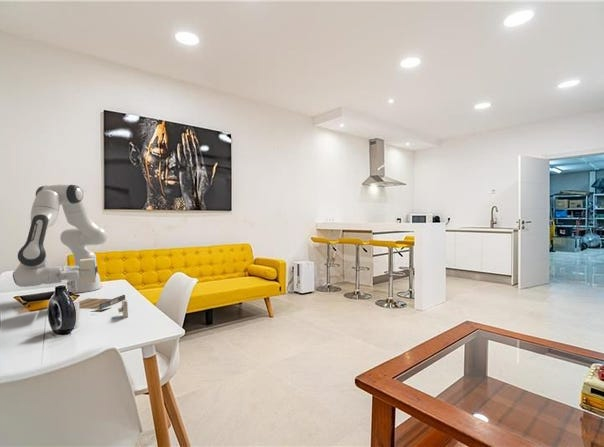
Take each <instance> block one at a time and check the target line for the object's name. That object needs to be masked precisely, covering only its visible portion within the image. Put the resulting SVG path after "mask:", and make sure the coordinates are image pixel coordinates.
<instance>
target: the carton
mask: <svg viewBox="0 0 604 447" xmlns="http://www.w3.org/2000/svg"><path fill="white" fill-rule="evenodd" d="M80 268H81V271H85V270H90V273H89V274H84V275H81V283H82V284H85V283H93V282H95V277H96V272H95V261H94V258H89V259H80Z"/></svg>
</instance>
